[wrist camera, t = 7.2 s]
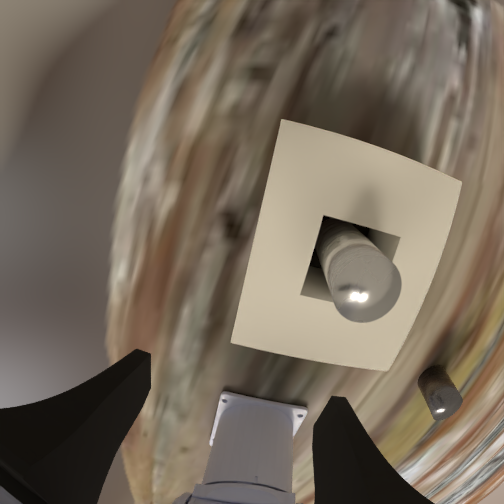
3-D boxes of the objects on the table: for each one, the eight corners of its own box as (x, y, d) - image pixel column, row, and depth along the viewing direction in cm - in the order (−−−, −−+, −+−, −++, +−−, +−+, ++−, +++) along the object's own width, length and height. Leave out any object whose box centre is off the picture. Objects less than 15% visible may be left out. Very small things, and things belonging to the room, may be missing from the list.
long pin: (349, 266, 19) (385, 328, 11) (308, 255, 19) (322, 315, 11) (362, 224, 18) (411, 264, 10) (320, 212, 18) (346, 246, 10)
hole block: (369, 330, 20) (387, 371, 15) (242, 303, 20) (230, 342, 16) (422, 176, 16) (462, 182, 12) (281, 131, 17) (281, 119, 12)
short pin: (434, 389, 21) (449, 419, 17) (412, 388, 21) (426, 420, 17) (449, 366, 20) (468, 395, 16) (427, 364, 21) (446, 396, 16)
